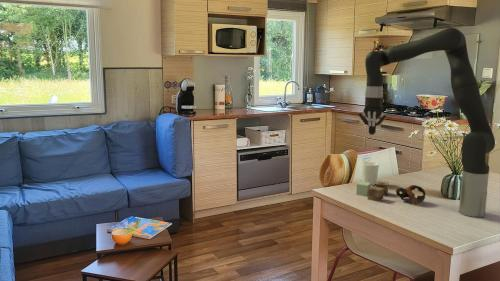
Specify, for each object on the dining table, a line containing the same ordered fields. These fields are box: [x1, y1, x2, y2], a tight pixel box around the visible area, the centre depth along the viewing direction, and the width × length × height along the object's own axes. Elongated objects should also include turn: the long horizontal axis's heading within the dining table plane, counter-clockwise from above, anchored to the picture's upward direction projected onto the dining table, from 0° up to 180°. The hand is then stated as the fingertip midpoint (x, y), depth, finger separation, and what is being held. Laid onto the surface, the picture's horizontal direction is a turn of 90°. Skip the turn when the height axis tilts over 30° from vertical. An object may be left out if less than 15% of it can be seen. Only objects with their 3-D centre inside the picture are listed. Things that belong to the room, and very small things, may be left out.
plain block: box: [355, 180, 372, 197], centre depth 203 cm, size 5×5×5 cm
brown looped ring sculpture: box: [395, 184, 426, 206], centre depth 191 cm, size 12×10×8 cm
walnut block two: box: [367, 185, 385, 202], centre depth 195 cm, size 5×5×5 cm
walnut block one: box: [375, 180, 389, 197], centre depth 203 cm, size 5×5×5 cm
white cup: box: [361, 161, 380, 186], centre depth 220 cm, size 8×8×10 cm
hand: (371, 134), depth 202 cm, fingers closed
